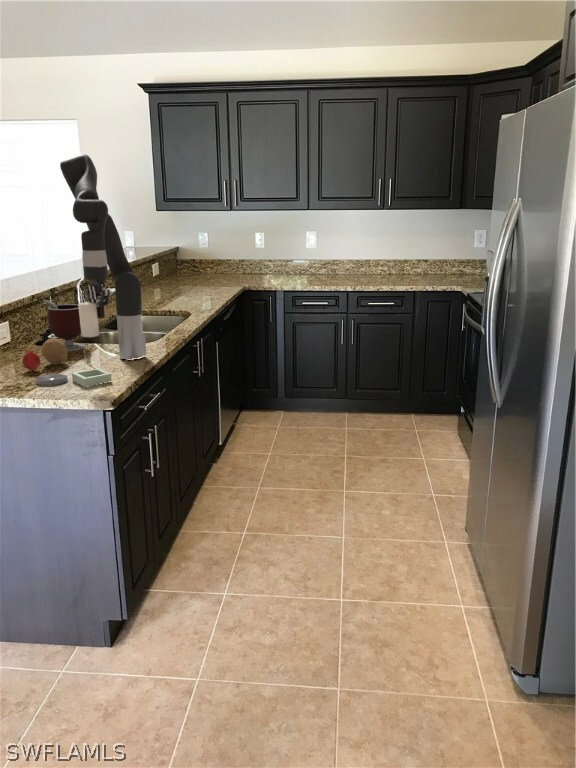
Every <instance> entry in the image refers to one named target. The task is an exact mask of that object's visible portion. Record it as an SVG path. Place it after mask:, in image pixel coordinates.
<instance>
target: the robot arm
mask: <svg viewBox="0 0 576 768" xmlns="http://www.w3.org/2000/svg"><path fill="white" fill-rule="evenodd" d="M59 166H60V170H61V174H62V176H63V178H64V181H65V182H66V184H67V186H68V187H69V190H70V191H71V193H72V195H73V198H74V202H73V206H72V215H73V218H74V220H76V221H77V222H78V223H81V224H86V226H87V228H88V230H86V231H83V232H81V236H80V237H81V248H82V249H81V250H82V256H81V257H82V258H81V259H82V269H83V270H82V271H83V279H84V280H86V281H88V285H87V286H84V289H85V292H86V296H87V299H88V302H94V303H96V304H97V316H98V319H104V318H106V317H105V313H104V306H105V305H106V306H108V303H109V300H110V294H111V291H110V289H106V283H105V280H108V278H109V271H110V274H111V278H112V281H113V285H114V292H115V310H116V311H115V312H116V323H117V336H118V349H119V350H118V351H119V359H120V358H122V359H132V358H138V357H141V356H143V355H146V356H147V346H146V345H147V344H146V343H147V342H146V334H145V332H144V331H143V330H144V329H143V315H142V313H143V312H142V306H143V305H142V304H143V303H142V288H141V287H142V286H141V282H140V281H141V280H140V279H139V278H138V276H137V275H136V274H135V271H134V270H133V268H132V267H131V264H130V263H129V261H128V259H127V256H126V254H125V251H124V250H125V249H124V247H123V243H122V240H121V236H120V235H119V234H120V233H119V231H118V229H117V226H116V225H115V222H114V220H113V217H112V216H111V215H110V213H109V207H108V205H107V203H106V202H105V201H104V200H102V199H100V198H99V193H98V189H97V187H98V173H97V169H96V165H95V164H94V162H93V160H92V158H91V157H90V156H89V155H87V154H82V153H81V154H79V155H76V156H74V157H71V158H68V159H64V160H62V161H61V162H60V165H59Z"/></svg>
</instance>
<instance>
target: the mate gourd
mask: <svg viewBox="0 0 576 768" xmlns="http://www.w3.org/2000/svg"><path fill="white" fill-rule="evenodd" d="M42 301H43V303H45V304H47V305H48V311H47V320H48V321H47V322H48V326H49V329H50V332H51V333H52V334H53V335H54V336H55V337H56V338H58V339H62V340H64V342H63V343H64V344H65V346H66V349H67V352H74V351H75V352H77V351H81V350H83V349H85V348H86V345H85V344H84V343H79V342H74V341H73V340H74V339H75V338H78V337H79V336H81V327H80V316H79V306H78V304H72V303H67V304H55V303H53V302H51V301H49V300H46V299H43V300H42Z"/></svg>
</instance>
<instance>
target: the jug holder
mask: <svg viewBox="0 0 576 768" xmlns="http://www.w3.org/2000/svg"><path fill="white" fill-rule="evenodd" d="M71 379H72V382H73V381H74V382H73V383H75V382H76V383H75V384H77V383H78V384H77V385H79V384H80V385H79V386H81V385H82V386H81V387H83V386H84V387H86V388H88V387H87V386H91V387H93V386H92V385H96V384H100V383H104V382H108V381H112V373H110V372H108V371H105V370H104V369H101V368H99V367H96V368H93V369H85V370H80V371H76V372H71ZM96 386H97V385H96ZM84 387H83V388H84Z"/></svg>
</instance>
